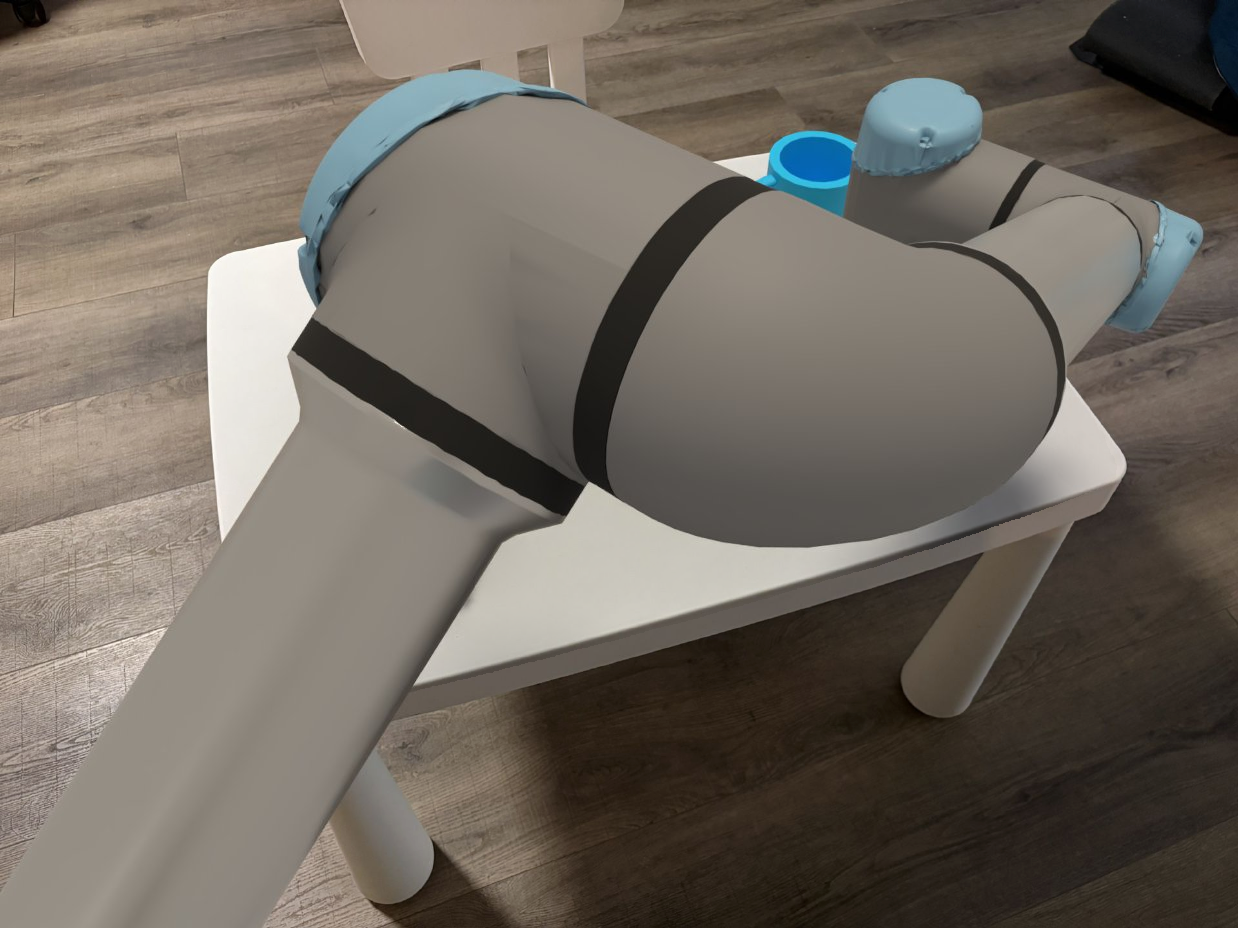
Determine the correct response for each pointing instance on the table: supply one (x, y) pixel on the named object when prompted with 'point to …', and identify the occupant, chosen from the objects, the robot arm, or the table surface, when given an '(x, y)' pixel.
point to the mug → (812, 168)
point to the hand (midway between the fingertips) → (461, 263)
